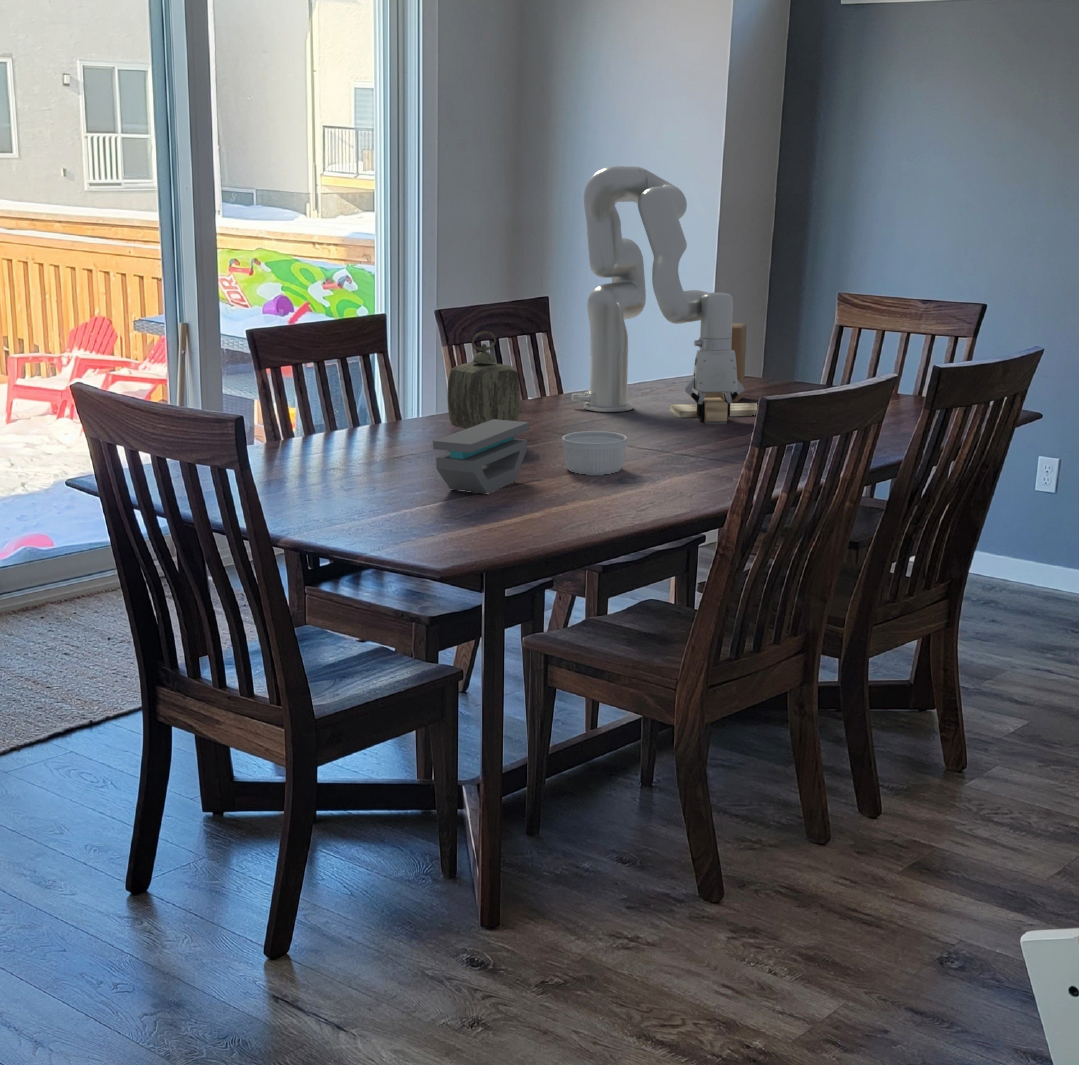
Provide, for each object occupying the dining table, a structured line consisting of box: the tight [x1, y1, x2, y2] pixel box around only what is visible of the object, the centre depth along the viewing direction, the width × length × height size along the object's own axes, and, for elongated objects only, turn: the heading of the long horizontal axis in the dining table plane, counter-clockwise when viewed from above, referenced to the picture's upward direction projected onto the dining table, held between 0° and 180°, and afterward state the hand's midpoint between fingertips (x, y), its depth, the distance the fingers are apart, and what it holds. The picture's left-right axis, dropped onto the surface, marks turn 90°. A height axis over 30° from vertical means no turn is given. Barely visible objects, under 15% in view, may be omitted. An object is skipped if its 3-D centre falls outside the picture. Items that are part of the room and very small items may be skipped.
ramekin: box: [561, 430, 628, 476], centre depth 278 cm, size 13×13×7 cm
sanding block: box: [702, 398, 728, 425], centre depth 333 cm, size 9×5×5 cm, turn 5°
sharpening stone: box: [432, 419, 530, 494], centre depth 262 cm, size 25×8×11 cm, turn 155°
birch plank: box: [669, 402, 758, 418], centre depth 344 cm, size 24×10×2 cm, turn 98°
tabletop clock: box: [447, 330, 521, 430], centre depth 301 cm, size 14×9×25 cm, turn 134°
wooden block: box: [705, 322, 748, 403], centre depth 361 cm, size 10×10×20 cm
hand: (713, 418), depth 333 cm, fingers closed on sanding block, 5 cm apart
